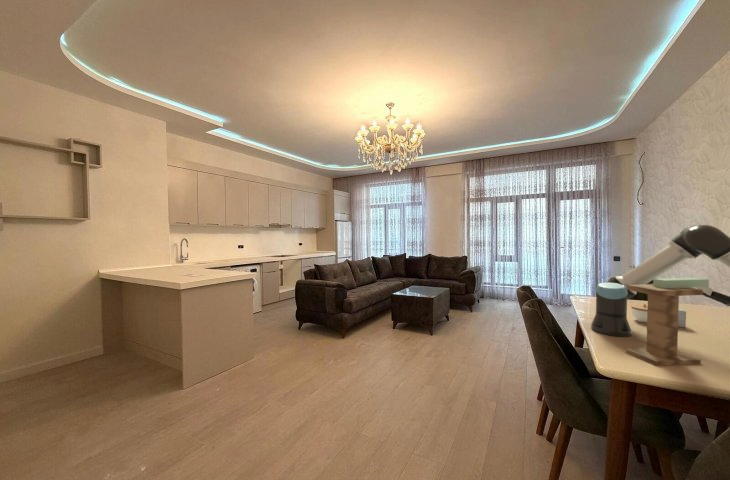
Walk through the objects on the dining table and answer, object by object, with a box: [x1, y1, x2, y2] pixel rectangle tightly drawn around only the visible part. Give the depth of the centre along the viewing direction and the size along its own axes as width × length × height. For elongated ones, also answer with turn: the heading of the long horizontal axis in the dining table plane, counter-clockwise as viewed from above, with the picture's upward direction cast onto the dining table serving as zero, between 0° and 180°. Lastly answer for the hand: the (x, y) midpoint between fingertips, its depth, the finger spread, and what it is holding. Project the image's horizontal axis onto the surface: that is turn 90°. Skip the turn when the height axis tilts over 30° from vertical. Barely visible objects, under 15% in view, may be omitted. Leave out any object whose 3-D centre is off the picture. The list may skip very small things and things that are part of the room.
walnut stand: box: [625, 283, 704, 367], centre depth 114 cm, size 18×12×28 cm, turn 95°
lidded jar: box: [631, 303, 648, 324], centre depth 160 cm, size 11×11×9 cm
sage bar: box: [652, 277, 710, 288], centre depth 114 cm, size 19×4×3 cm, turn 95°
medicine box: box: [678, 308, 687, 328], centre depth 152 cm, size 8×4×9 cm, turn 58°
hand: (720, 288), depth 116 cm, fingers open, 13 cm apart
